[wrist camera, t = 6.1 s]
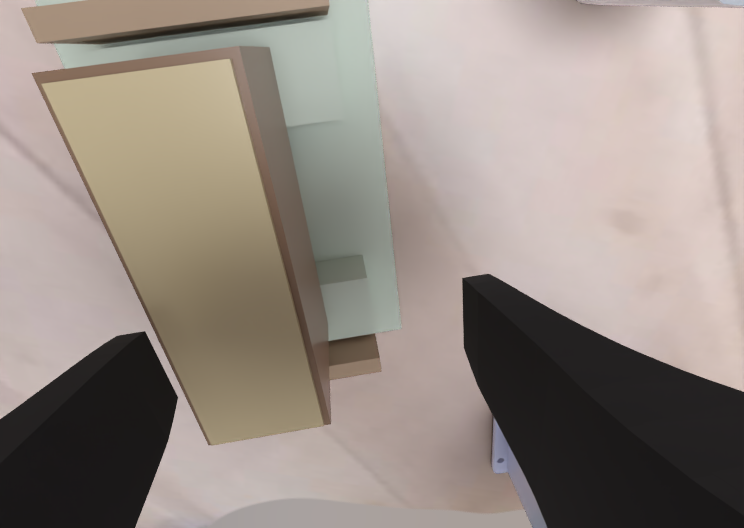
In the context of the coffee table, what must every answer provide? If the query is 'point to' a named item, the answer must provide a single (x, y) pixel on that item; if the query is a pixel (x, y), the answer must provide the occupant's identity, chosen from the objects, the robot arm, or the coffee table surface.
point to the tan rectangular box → (207, 228)
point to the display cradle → (303, 121)
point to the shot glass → (669, 3)
